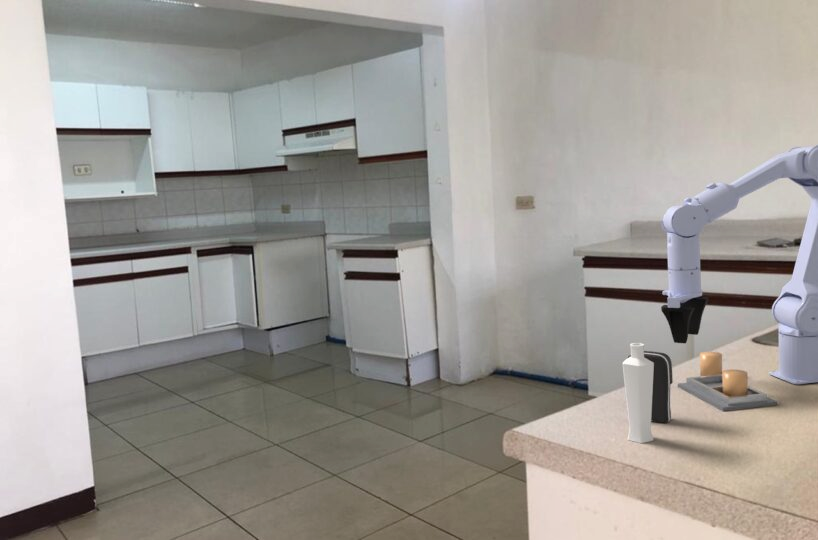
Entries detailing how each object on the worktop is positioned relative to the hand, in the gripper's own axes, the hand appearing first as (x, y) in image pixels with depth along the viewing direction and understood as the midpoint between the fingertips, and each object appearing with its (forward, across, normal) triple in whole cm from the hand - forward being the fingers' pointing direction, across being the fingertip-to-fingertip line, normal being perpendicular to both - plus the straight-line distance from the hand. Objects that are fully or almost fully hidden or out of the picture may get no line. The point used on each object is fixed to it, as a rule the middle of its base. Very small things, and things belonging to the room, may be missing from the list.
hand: (686, 338), depth 128 cm
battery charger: (+9, +22, 0) cm, 23 cm away
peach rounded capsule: (+9, -8, +2) cm, 12 cm away
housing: (+9, +4, +8) cm, 13 cm away
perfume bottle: (+9, +31, +2) cm, 33 cm away
